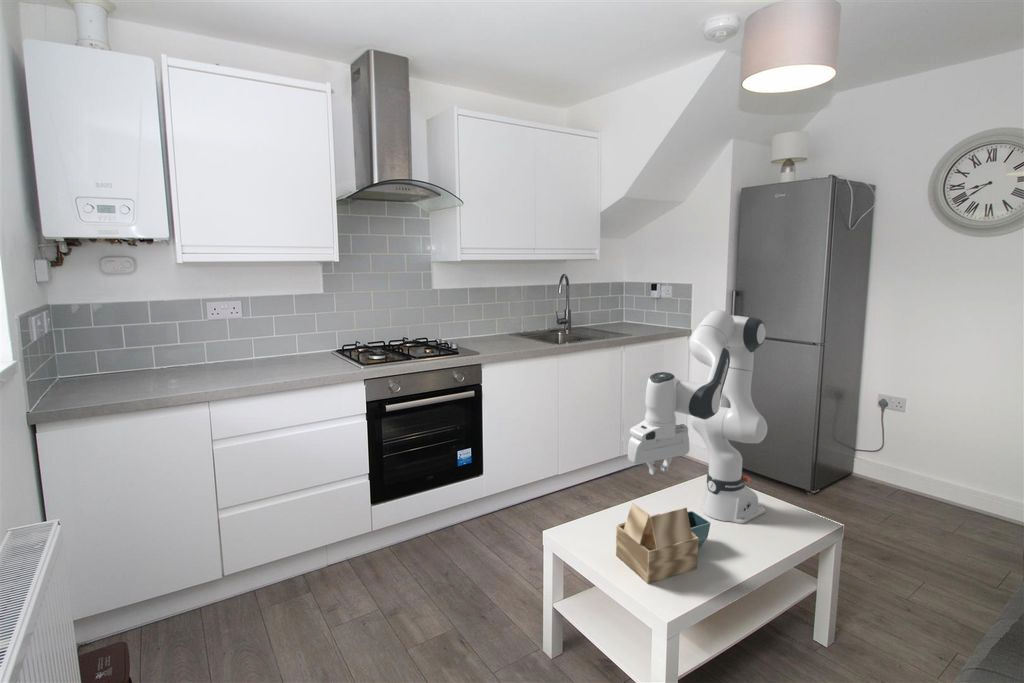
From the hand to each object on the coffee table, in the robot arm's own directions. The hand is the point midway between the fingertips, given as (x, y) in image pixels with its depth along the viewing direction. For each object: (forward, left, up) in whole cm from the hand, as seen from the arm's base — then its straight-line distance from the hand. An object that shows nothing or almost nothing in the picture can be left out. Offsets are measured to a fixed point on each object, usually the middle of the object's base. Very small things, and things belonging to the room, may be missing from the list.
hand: (658, 472), depth 159 cm
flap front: (+7, 0, -15) cm, 16 cm away
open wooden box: (0, 0, -29) cm, 29 cm away
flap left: (0, +6, -15) cm, 16 cm away
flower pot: (-16, -3, -29) cm, 34 cm away
